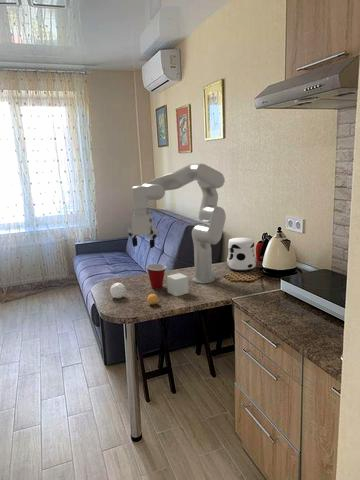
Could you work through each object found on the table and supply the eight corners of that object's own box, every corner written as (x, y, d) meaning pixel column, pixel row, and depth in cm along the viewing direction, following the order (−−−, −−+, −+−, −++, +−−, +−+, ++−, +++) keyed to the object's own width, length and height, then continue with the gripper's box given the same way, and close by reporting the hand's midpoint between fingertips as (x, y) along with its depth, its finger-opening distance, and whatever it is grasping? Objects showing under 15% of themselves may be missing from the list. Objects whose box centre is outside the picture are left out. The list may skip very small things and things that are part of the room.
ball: (154, 301, 179) (154, 291, 178) (160, 304, 175) (159, 294, 174) (145, 303, 176) (145, 294, 175) (150, 307, 172) (150, 297, 171)
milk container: (261, 268, 225) (261, 239, 221) (244, 274, 213) (244, 244, 210) (238, 263, 237) (238, 235, 233) (221, 269, 226) (220, 240, 222)
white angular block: (180, 288, 194) (179, 273, 192) (188, 292, 188) (188, 276, 186) (167, 292, 190) (167, 276, 188) (176, 296, 184) (175, 279, 182)
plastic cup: (164, 291, 192) (163, 269, 189) (144, 290, 194) (143, 268, 192) (169, 284, 202) (168, 263, 200) (150, 283, 205) (149, 263, 202)
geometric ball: (121, 301, 188) (130, 287, 189) (117, 301, 180) (126, 287, 181) (109, 293, 189) (118, 280, 190) (105, 293, 181) (113, 279, 182)
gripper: (161, 211, 175) (163, 246, 178) (130, 210, 182) (132, 244, 186) (153, 213, 168) (155, 249, 172) (121, 212, 175) (124, 247, 179)
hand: (143, 246), depth 179 cm, fingers open, 9 cm apart
